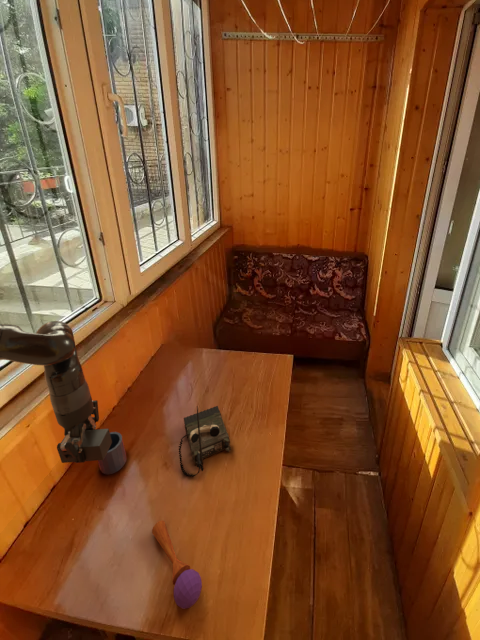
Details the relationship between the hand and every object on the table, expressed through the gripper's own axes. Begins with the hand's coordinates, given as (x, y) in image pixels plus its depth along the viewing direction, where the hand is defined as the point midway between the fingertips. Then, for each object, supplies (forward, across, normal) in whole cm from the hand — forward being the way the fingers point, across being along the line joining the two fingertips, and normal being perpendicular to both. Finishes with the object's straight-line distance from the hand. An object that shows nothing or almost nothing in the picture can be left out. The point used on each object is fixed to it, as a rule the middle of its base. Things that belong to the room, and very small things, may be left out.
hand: (87, 450), depth 80 cm
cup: (+21, -12, -3) cm, 25 cm away
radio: (+22, -15, +25) cm, 37 cm away
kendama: (+22, +15, +24) cm, 36 cm away
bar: (+1, 0, 0) cm, 1 cm away
